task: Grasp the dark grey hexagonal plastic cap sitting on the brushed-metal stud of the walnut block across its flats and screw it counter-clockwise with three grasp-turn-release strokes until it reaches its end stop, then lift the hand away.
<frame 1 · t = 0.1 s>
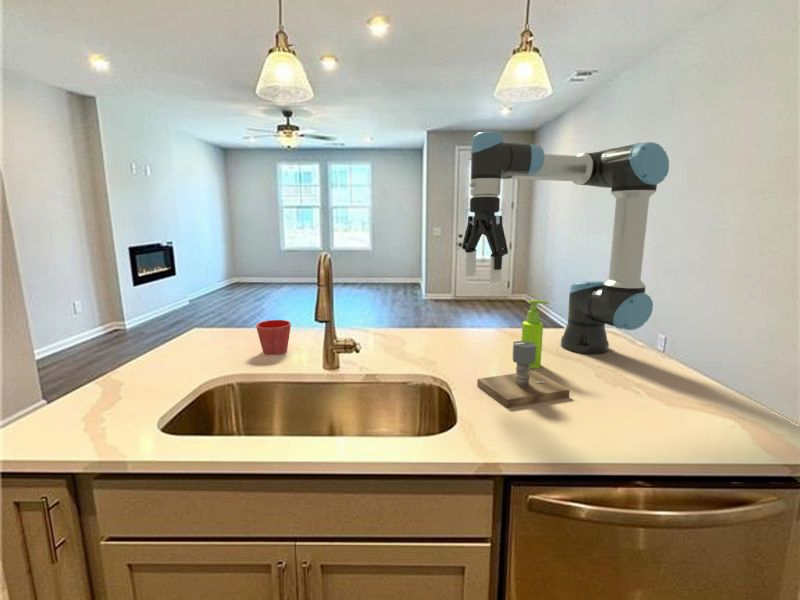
hand: (482, 279, 112), 28 cm above the worktop, fingers open, 13 cm apart
soap dispenser: (532, 365, 129), on the worktop
stud block: (521, 391, 109), on the worktop
cap: (523, 351, 107), point 11 cm above the worktop, hinge at 0.0°
flower pot: (275, 352, 142), on the worktop
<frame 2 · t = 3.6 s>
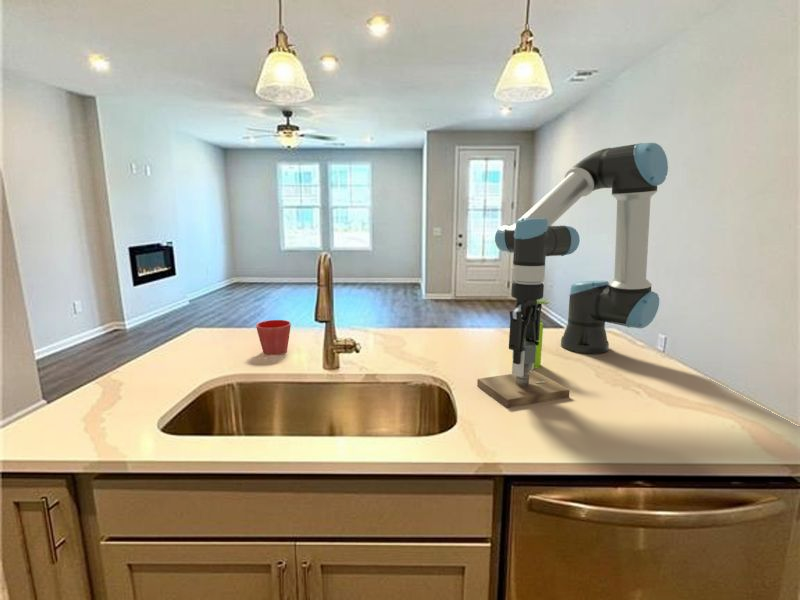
hand: (522, 371, 108), 5 cm above the worktop, fingers closed on cap, 5 cm apart
cap: (523, 351, 107), point 11 cm above the worktop, hinge at 0.0°, touching gripper
everything else where it was.
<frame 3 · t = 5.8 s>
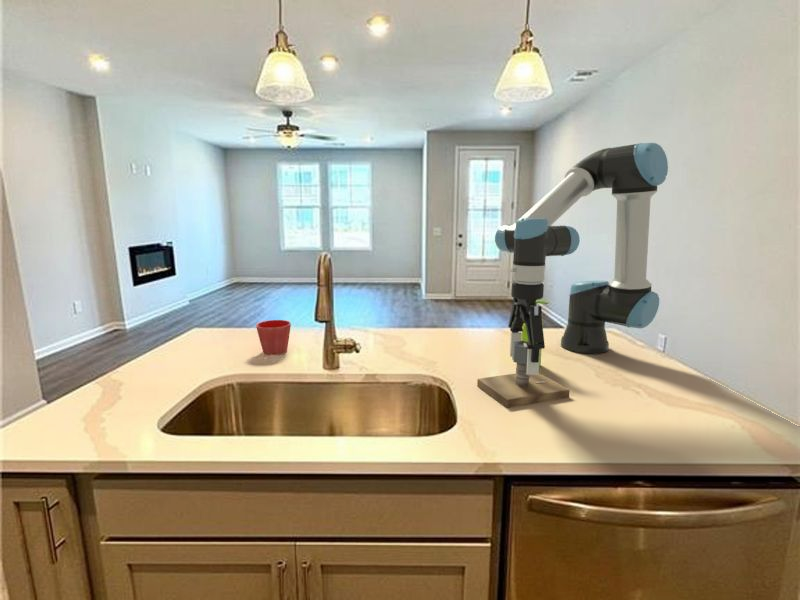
hand: (523, 364, 108), 7 cm above the worktop, fingers open, 13 cm apart
cap: (523, 351, 107), point 11 cm above the worktop, hinge at 62.7°
everything else where it was.
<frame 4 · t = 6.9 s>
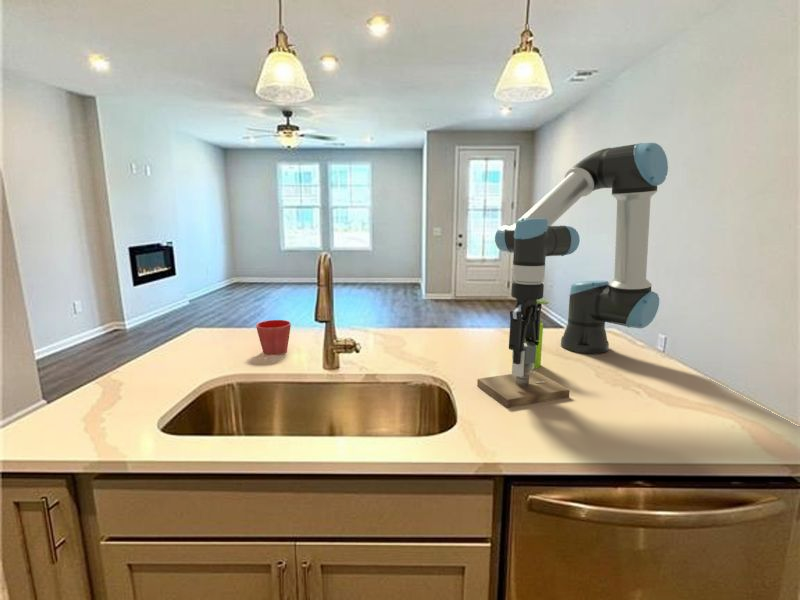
hand: (522, 371, 108), 5 cm above the worktop, fingers closed on cap, 5 cm apart
cap: (523, 351, 107), point 11 cm above the worktop, hinge at 62.8°, touching gripper
everything else where it was.
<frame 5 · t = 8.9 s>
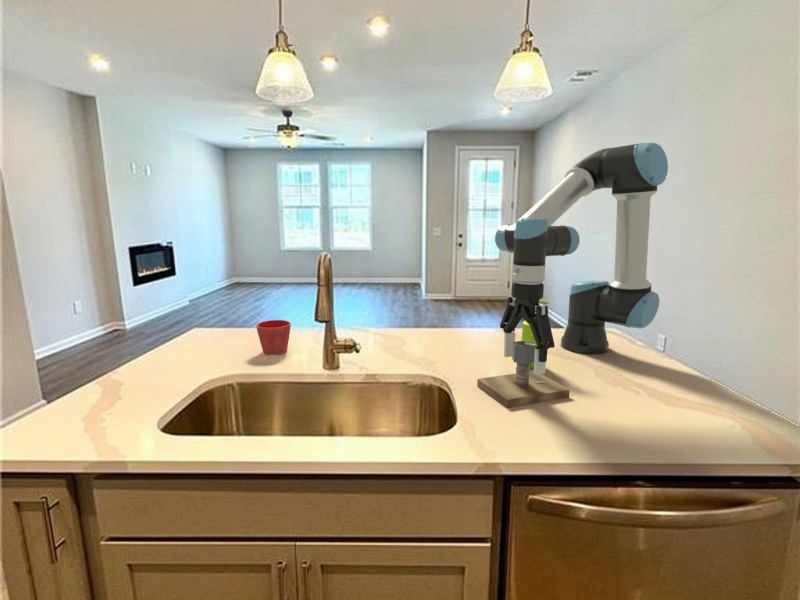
hand: (523, 364, 108), 7 cm above the worktop, fingers open, 13 cm apart
cap: (523, 351, 107), point 11 cm above the worktop, hinge at 124.0°
everything else where it was.
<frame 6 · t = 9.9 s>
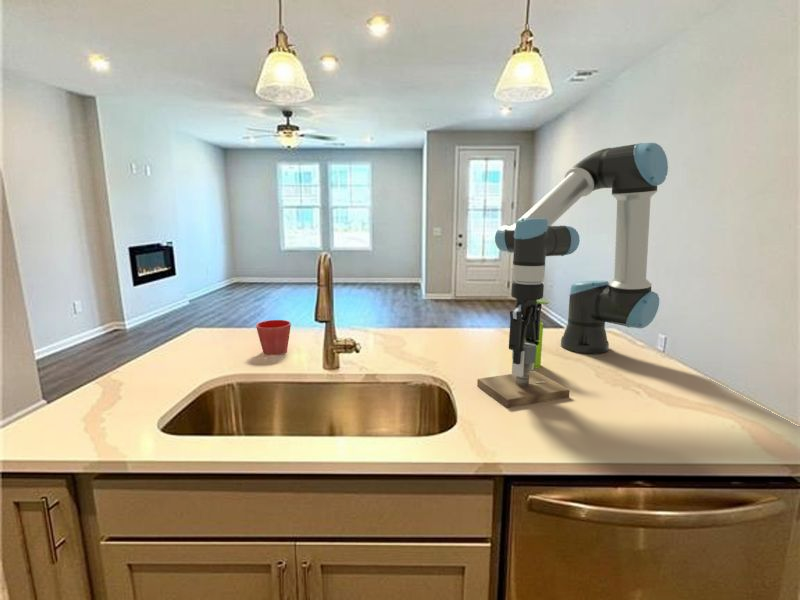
hand: (522, 371, 108), 5 cm above the worktop, fingers closed on cap, 5 cm apart
cap: (523, 351, 107), point 11 cm above the worktop, hinge at 124.2°, touching gripper
everything else where it was.
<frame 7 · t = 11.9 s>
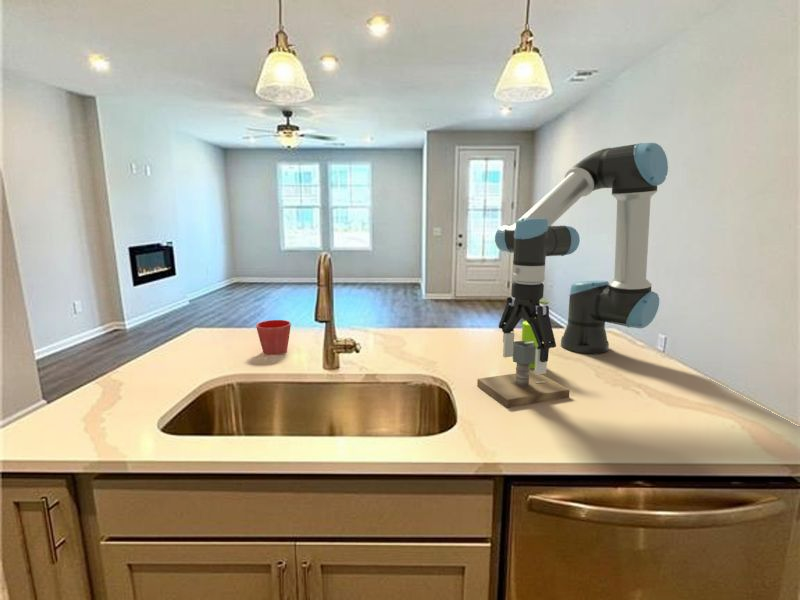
hand: (523, 364, 108), 7 cm above the worktop, fingers open, 13 cm apart
cap: (523, 351, 107), point 11 cm above the worktop, hinge at 177.8°
everything else where it was.
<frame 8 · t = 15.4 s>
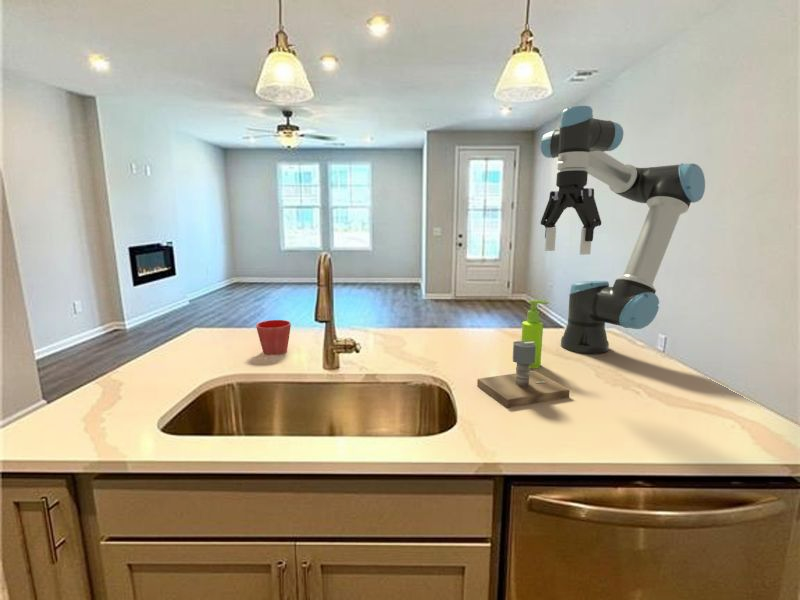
hand: (566, 252, 114), 35 cm above the worktop, fingers open, 13 cm apart
cap: (523, 351, 107), point 11 cm above the worktop, hinge at 178.2°
everything else where it was.
at the end: cap at +178° (first picture: +0°); the gripper is holding nothing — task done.
